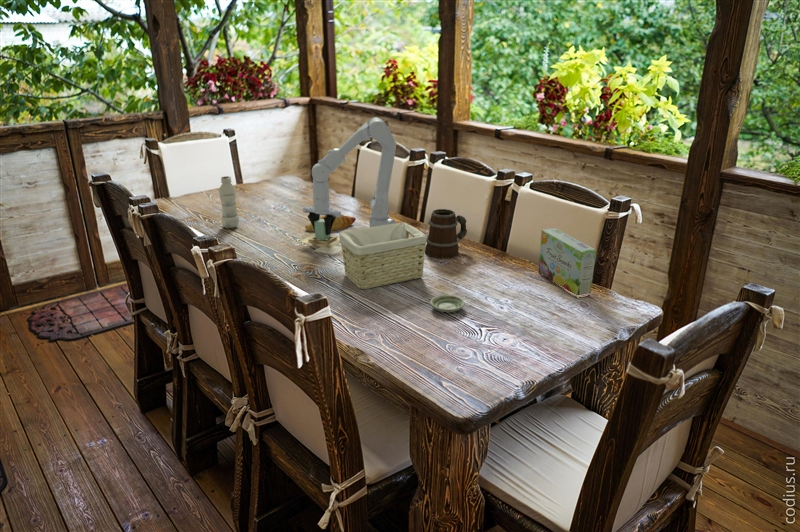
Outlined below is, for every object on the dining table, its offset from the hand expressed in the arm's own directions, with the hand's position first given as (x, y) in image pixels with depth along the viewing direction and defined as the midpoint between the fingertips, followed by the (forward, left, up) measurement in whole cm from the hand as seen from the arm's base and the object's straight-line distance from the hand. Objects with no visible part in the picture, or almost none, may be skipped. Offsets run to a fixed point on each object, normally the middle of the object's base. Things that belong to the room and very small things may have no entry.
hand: (322, 233), depth 220 cm
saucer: (-63, +29, -4) cm, 69 cm away
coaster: (-7, +7, -3) cm, 10 cm away
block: (0, 0, -2) cm, 2 cm away
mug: (-44, -13, -3) cm, 46 cm away
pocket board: (0, 0, -3) cm, 3 cm away
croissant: (+7, -15, -4) cm, 17 cm away
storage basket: (-35, +18, -4) cm, 40 cm away
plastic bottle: (+41, +4, -3) cm, 41 cm away
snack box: (-87, -5, -4) cm, 87 cm away
